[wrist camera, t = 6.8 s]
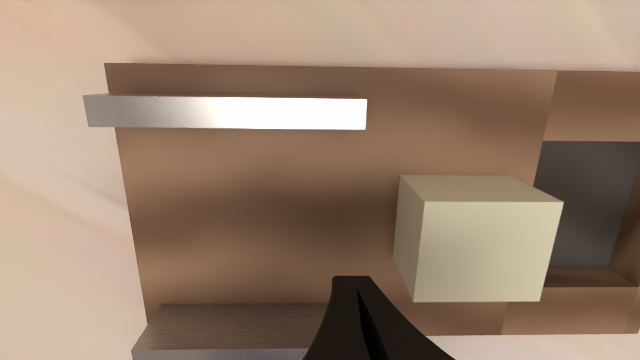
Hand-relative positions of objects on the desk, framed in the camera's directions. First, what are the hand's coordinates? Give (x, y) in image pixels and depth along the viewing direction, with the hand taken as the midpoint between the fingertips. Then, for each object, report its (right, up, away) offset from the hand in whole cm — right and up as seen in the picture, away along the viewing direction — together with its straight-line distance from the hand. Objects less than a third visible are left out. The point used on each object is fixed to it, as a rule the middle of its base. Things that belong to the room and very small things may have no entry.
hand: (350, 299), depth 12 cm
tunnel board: (+4, +3, +9) cm, 10 cm away
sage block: (+6, +2, +7) cm, 9 cm away
